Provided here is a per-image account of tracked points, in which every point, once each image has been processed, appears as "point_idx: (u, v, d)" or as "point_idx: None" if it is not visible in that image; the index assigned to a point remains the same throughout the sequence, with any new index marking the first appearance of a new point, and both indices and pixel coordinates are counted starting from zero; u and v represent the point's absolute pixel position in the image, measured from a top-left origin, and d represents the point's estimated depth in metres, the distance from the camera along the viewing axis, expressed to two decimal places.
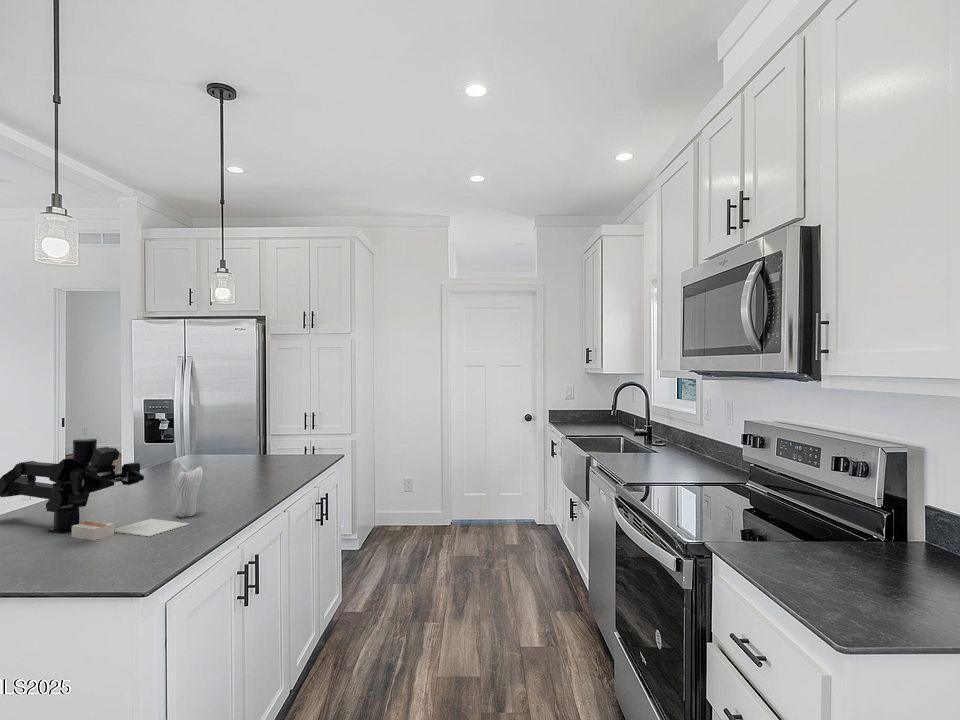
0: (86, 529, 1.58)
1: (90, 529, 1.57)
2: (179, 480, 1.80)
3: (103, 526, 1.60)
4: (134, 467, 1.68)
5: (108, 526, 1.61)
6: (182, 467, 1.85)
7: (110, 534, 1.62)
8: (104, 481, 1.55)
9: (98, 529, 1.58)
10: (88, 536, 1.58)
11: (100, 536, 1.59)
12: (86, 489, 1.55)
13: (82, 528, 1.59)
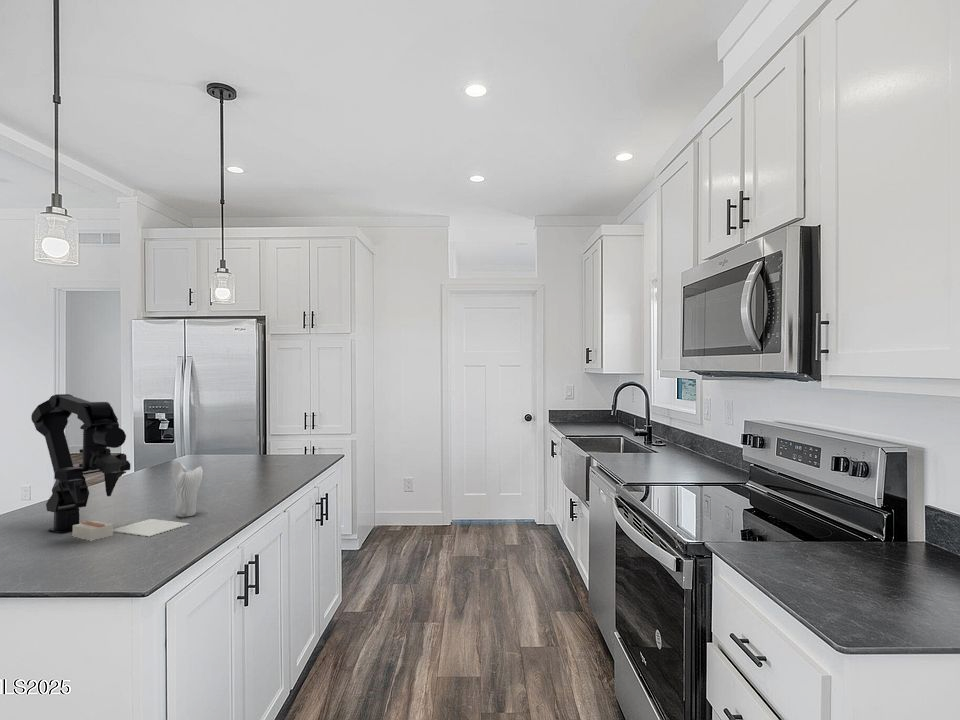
0: (85, 529, 1.58)
1: (88, 529, 1.57)
2: (179, 480, 1.80)
3: (102, 526, 1.59)
4: (120, 475, 1.67)
5: (107, 526, 1.61)
6: (182, 467, 1.85)
7: (109, 534, 1.61)
8: (75, 494, 1.56)
9: (96, 529, 1.58)
10: (86, 537, 1.58)
11: (99, 536, 1.59)
12: None
13: (81, 528, 1.59)
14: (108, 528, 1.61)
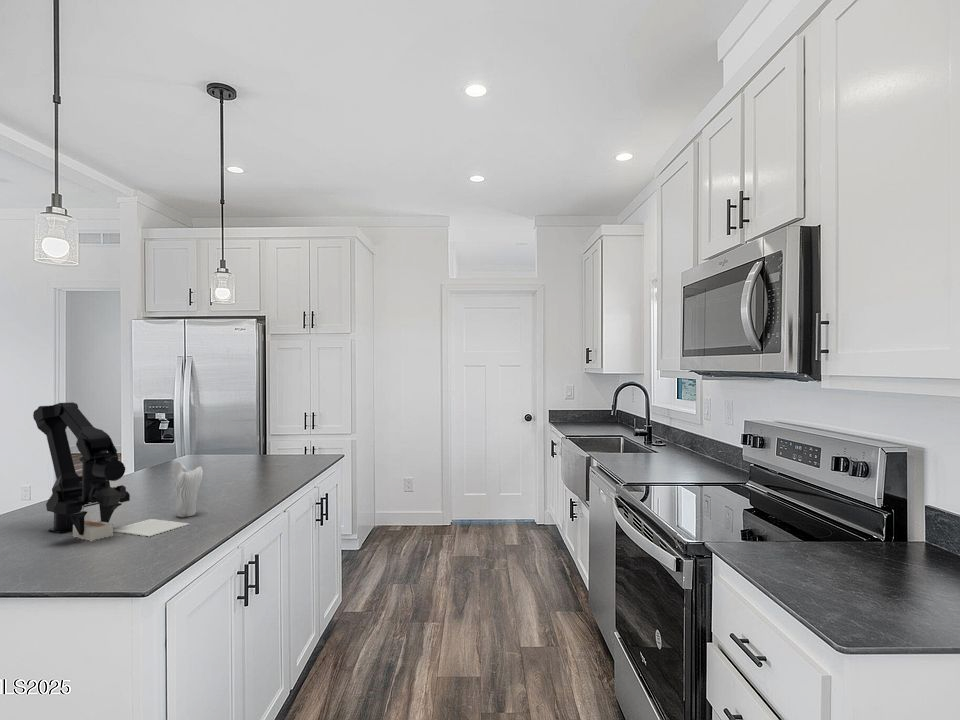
0: (85, 529, 1.58)
1: (88, 529, 1.57)
2: (179, 480, 1.80)
3: (101, 526, 1.59)
4: (116, 507, 1.66)
5: (106, 526, 1.60)
6: (182, 467, 1.85)
7: (109, 534, 1.61)
8: (79, 527, 1.57)
9: (96, 529, 1.58)
10: (86, 536, 1.57)
11: (98, 536, 1.58)
12: None
13: None
14: (108, 528, 1.61)
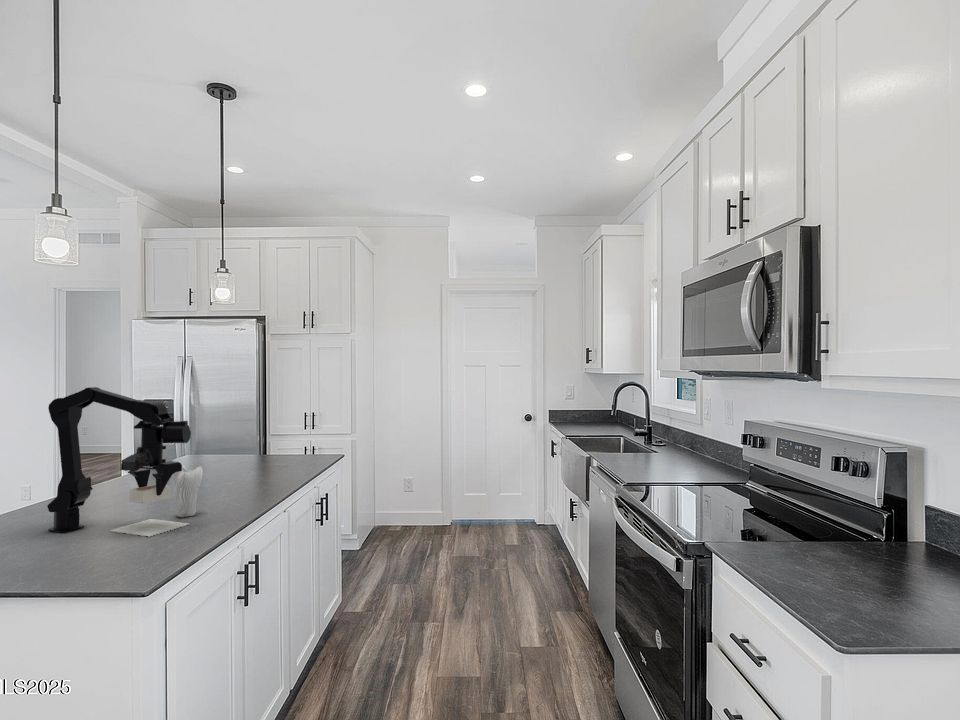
0: None
1: None
2: (179, 480, 1.80)
3: (136, 490, 1.66)
4: (157, 476, 1.66)
5: (139, 492, 1.65)
6: (182, 467, 1.85)
7: (141, 500, 1.65)
8: None
9: (132, 491, 1.67)
10: None
11: (134, 498, 1.66)
12: None
13: None
14: (140, 494, 1.65)
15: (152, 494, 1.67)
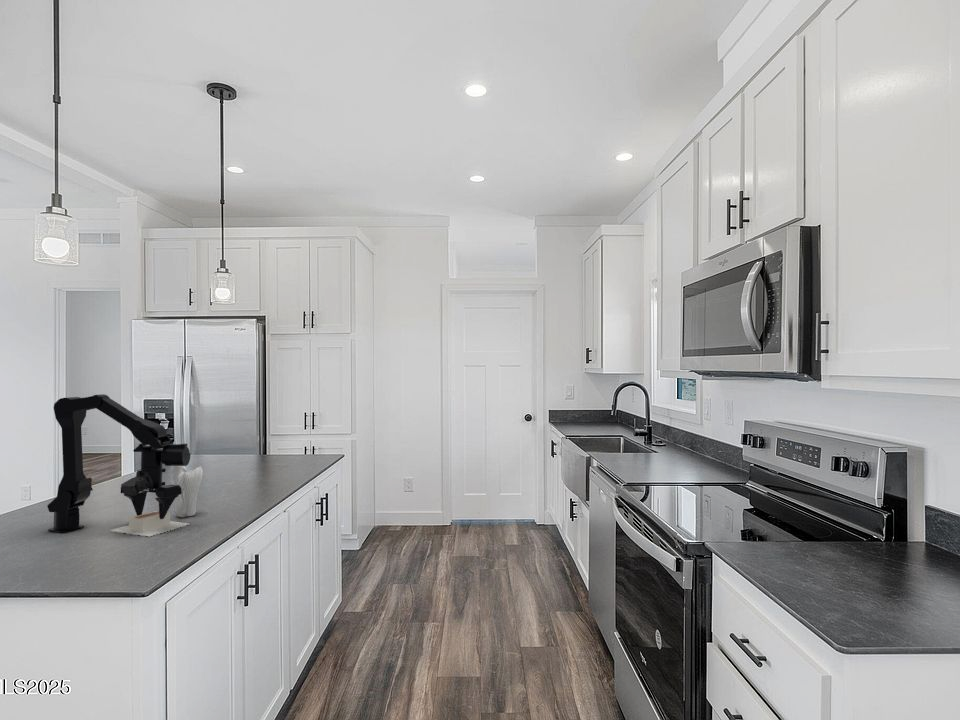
0: None
1: None
2: (179, 480, 1.80)
3: (136, 518, 1.66)
4: (160, 500, 1.66)
5: (139, 520, 1.65)
6: (182, 467, 1.85)
7: (140, 528, 1.65)
8: None
9: (132, 519, 1.66)
10: None
11: (134, 527, 1.66)
12: None
13: None
14: (140, 522, 1.65)
15: (151, 521, 1.67)
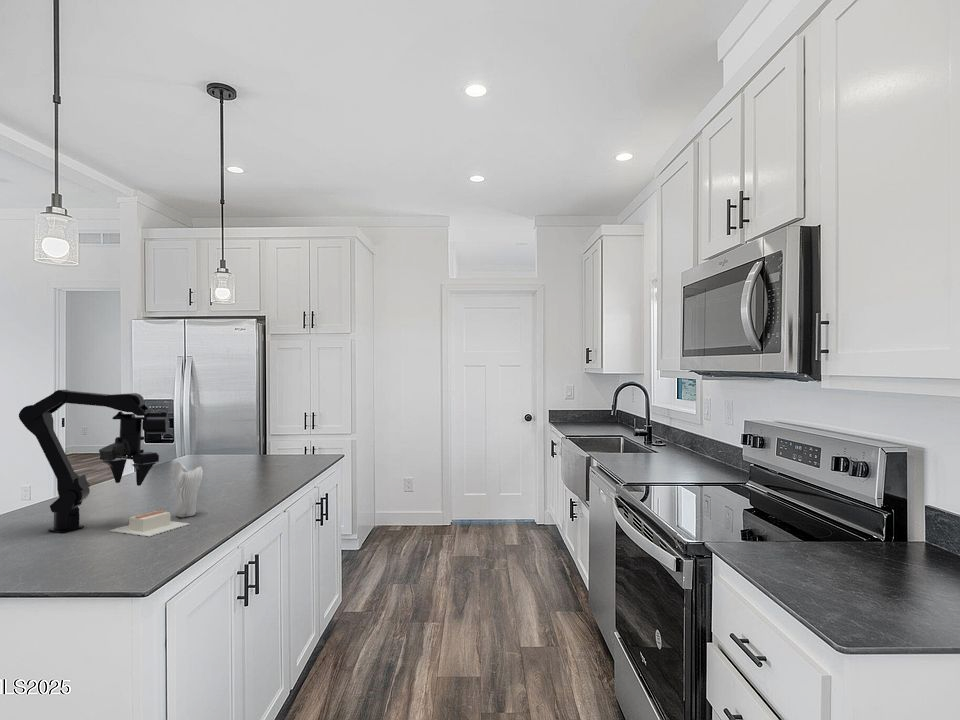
0: None
1: None
2: (179, 480, 1.80)
3: (136, 518, 1.66)
4: (137, 467, 1.69)
5: (139, 520, 1.65)
6: (182, 467, 1.85)
7: (140, 528, 1.65)
8: None
9: (132, 519, 1.66)
10: None
11: (134, 527, 1.66)
12: None
13: None
14: (140, 522, 1.65)
15: (151, 521, 1.67)
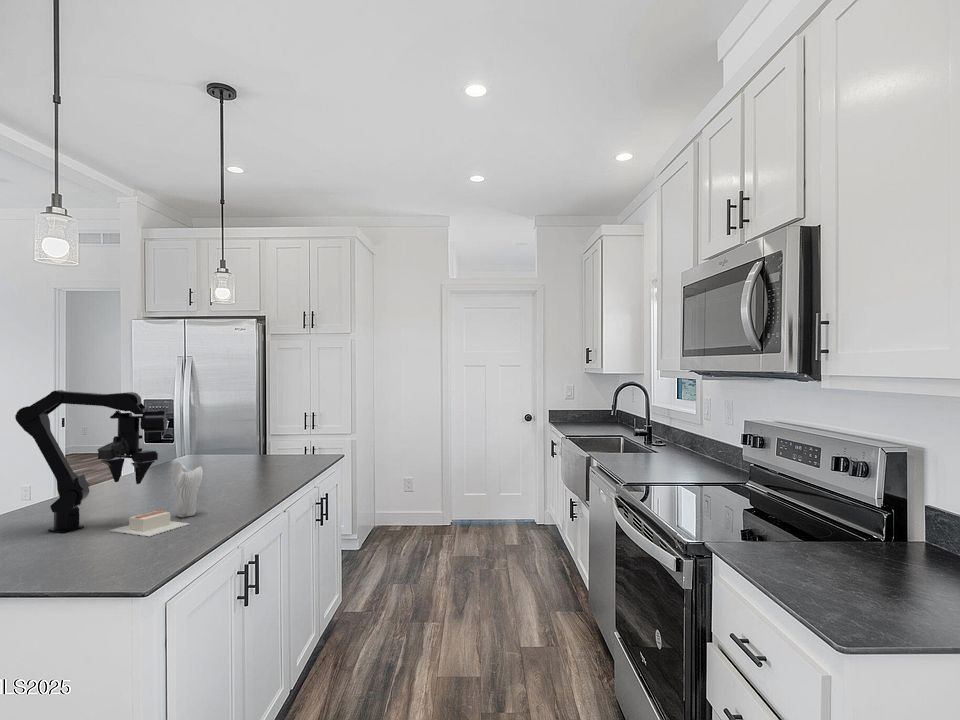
0: None
1: None
2: (179, 480, 1.80)
3: (136, 518, 1.66)
4: (136, 465, 1.69)
5: (139, 520, 1.65)
6: (182, 467, 1.85)
7: (140, 528, 1.65)
8: None
9: (132, 519, 1.66)
10: None
11: (134, 527, 1.66)
12: None
13: None
14: (140, 522, 1.65)
15: (151, 521, 1.67)
